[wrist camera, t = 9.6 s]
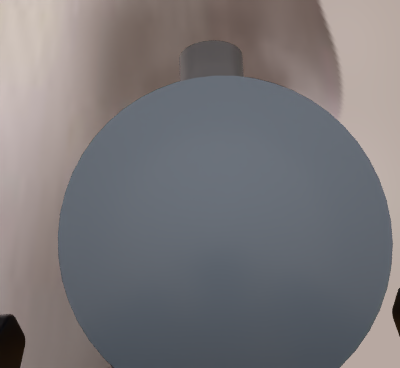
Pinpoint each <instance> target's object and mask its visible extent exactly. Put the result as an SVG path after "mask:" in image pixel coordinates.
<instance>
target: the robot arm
mask: <svg viewBox="0 0 400 368" xmlns="http://www.w3.org/2000/svg"><path fill="white" fill-rule="evenodd" d="M392 314H393V319H394V322H395V325H396V327H397V330H398V333H399V336H400V288H399V289H398V292H397V296H396V299H395V302H394V305H393V309H392ZM24 347H25V336H24V333H23V331H22V329H21V328H20V326H19V324H18V322H17V320H16V318H15V317H14V316H13V315H11V314H6V315H0V368H20V365H21V361H22V356H23V352H24Z"/></svg>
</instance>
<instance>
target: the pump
mask: <svg viewBox="0 0 400 368" xmlns="http://www.w3.org/2000/svg"><path fill="white" fill-rule="evenodd" d="M179 65H180V82H175V83H173V84H170V85H167V86H165V87H162V88H159V89H157V90H155V91H153V92H151V93H149V94H147V95H145V96H143V97H141V98H139V99H138V100H136V101H135V102H133V103H132V104H130V105H129V106H127V107H126V108H124V109H123V110H122V111H120V112H119V113H118V114H117V115H116V116H115V117H114V118H112V119H111V120H110V121H109V122H108V123H107V124H106V125H105V126H104V127H103V128H102V129H101V131H100V132H99V133H98V134H97V135H96V136H95V137H94V139H93V140H92V141H91V143H90V144H89V146H88V147H87V149H86V150H85V151H84V153H83V154H82V156H81V158H80V160H79V162H78V164H77V166H76V167H75V169H74V171H73V173H72V176H71V179H70V181H69V184H68V187H67V189H66V192H65V196H64V200H63V204H62V208H61V212H60V221H59V230H58V256H59V263H60V270H61V276H62V281H63V284H64V288H65V291H66V294H67V298H68V301H69V303H70V305H71V308H72V310H73V312H74V314H75V317H76V319H77V321H78V323H79V324H80V326H81V328H82V329H83V331H84V332H85V334H86V336H87V337H88V339H89V341H90V342H91V343H92V344H93V345H94V347H95V348H96V349H97V350H98V352H99V353H100V354H101V355H102V356H103V358H104V359H105V360H106V361H107V362H109V363H110V364H111V365H112V366H113V367H114V368H340V367H341V366H342V365H343V363H345V361H346V360H347V359H348V358H349V357H350V356H351V355H352V354H353V353H354V352H355V351H356V349H357V348H358V346H359V345H360V344H361V342H362V341H363V339H364V338H365V336H366V335H367V333H368V332H369V331H370V329H371V326H372V325H373V323H374V320H375V319H376V316H377V314H378V312H379V311H380V308H381V305H382V302H383V299H384V296H385V293H386V290H387V286H388V281H389V276H390V271H391V264H392V245H393V243H392V229H391V219H390V215H389V210H388V205H387V200H386V197H385V194H384V192H383V189H382V186H381V183H380V180H379V178H378V176H377V174H376V172H375V170H374V168H373V166H372V164H371V162H370V160H369V158H368V157H367V156H366V154H365V152H364V151H363V150H362V148H361V146H360V145H359V144H358V142H357V141H356V140H355V138H354V137H353V136H352V135H351V134H350V133H349V132H348V130H347V129H346V128H345V127H344V126H343V125H342V124H341V123H340V122H339V121H338V120H336V119H335V118H334V117H333V116H332V115H331V114H330V113H329V112H327V111H326V110H325V109H323V108H322V107H320V106H319V105H317V104H316V103H314V102H313V101H312V100H310V99H308V98H306V97H304V96H302V95H300V94H299V93H297V92H295V91H293V90H290V89H288V88H285V87H283V86H280V85H277V84H275V83H271V82H267V81H263V80H259V79H255V78H248V77H244V74H243V60H242V52H241V51H240V49H239V48H238V47H236V46H235V45H233V44H231V43H228V42H224V41H203V42H199V43H196V44H193V45H191V46H189V47H187V48H186V49H185V50H184V51H183V52H182V53H181V54H180V57H179Z"/></svg>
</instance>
